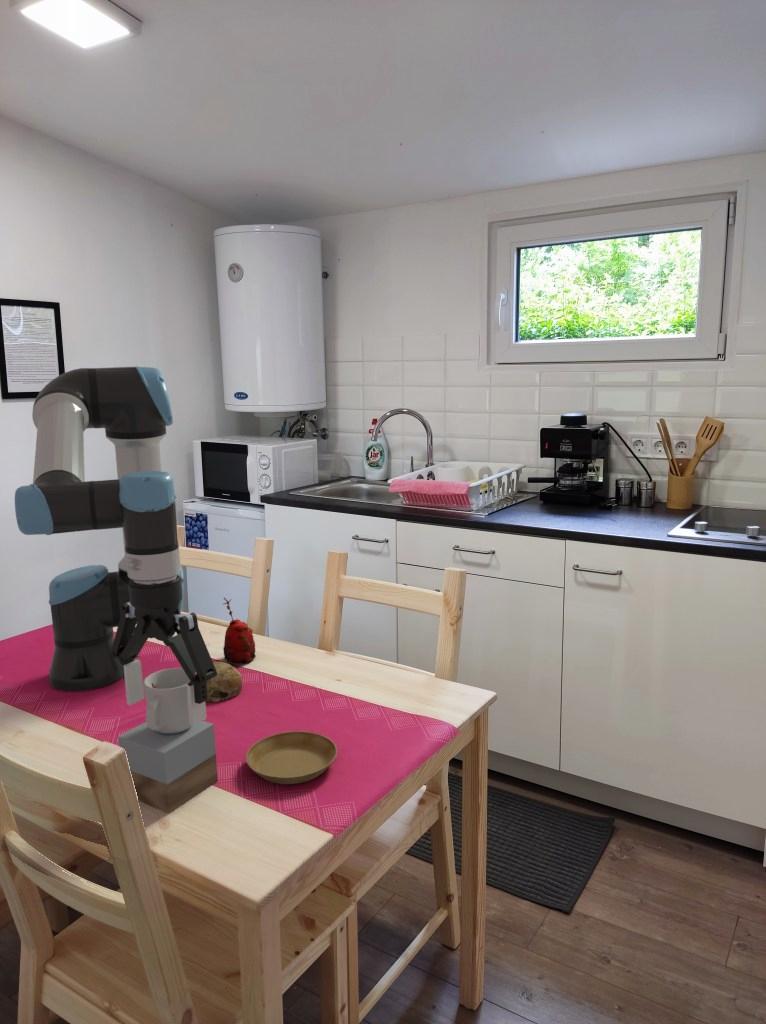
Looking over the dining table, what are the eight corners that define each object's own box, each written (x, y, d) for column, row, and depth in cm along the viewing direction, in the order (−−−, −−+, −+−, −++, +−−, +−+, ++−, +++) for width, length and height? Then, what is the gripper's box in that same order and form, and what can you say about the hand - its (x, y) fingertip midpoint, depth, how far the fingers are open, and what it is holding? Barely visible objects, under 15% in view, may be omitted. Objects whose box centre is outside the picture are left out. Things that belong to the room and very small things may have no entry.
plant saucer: (293, 735, 131) (293, 722, 131) (356, 762, 122) (355, 748, 122) (227, 771, 120) (226, 756, 120) (290, 803, 111) (290, 788, 111)
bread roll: (197, 720, 145) (199, 692, 141) (184, 682, 153) (186, 654, 148) (246, 709, 150) (249, 681, 145) (231, 672, 157) (234, 645, 153)
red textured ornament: (259, 662, 164) (255, 597, 161) (227, 668, 161) (223, 602, 158) (251, 651, 171) (248, 588, 168) (221, 656, 168) (216, 592, 165)
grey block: (120, 766, 113) (118, 736, 112) (170, 738, 121) (168, 710, 120) (167, 784, 108) (164, 752, 107) (215, 753, 116) (213, 724, 115)
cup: (177, 751, 107) (172, 700, 106) (127, 746, 109) (122, 696, 107) (209, 716, 118) (205, 669, 116) (163, 712, 119) (159, 665, 118)
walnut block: (123, 796, 114) (121, 766, 113) (173, 766, 122) (171, 738, 121) (169, 815, 109) (166, 784, 108) (217, 783, 117) (215, 754, 116)
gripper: (78, 572, 112) (92, 703, 116) (197, 596, 99) (207, 741, 104) (118, 561, 119) (130, 685, 123) (235, 582, 106) (244, 719, 110)
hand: (165, 711), depth 113 cm, fingers open, 13 cm apart
